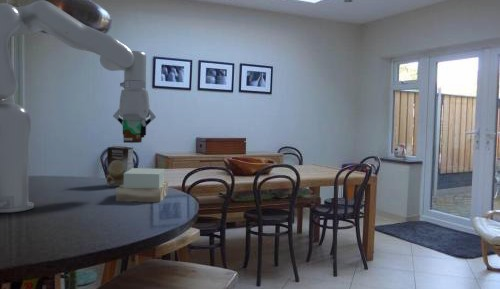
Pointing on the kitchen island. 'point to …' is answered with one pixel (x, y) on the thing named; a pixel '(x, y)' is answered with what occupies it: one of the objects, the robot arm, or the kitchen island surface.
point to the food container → (132, 128)
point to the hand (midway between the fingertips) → (134, 136)
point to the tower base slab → (141, 193)
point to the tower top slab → (144, 178)
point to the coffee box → (118, 164)
